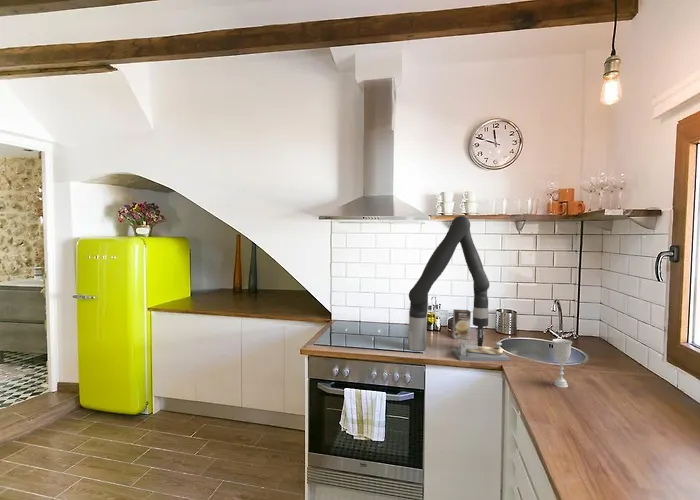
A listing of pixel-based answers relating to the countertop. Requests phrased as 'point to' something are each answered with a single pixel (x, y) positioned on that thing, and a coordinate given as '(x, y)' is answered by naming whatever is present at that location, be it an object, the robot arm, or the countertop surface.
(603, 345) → the countertop surface
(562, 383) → the chalice
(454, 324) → the coffee box
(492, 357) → the hinge plate
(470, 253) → the robot arm
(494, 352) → the link
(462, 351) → the keeper
